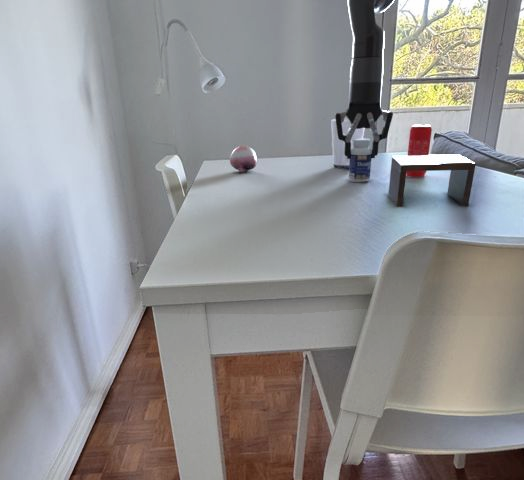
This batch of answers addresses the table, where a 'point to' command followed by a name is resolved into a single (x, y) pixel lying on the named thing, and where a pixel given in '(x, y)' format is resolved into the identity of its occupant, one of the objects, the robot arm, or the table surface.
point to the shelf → (456, 163)
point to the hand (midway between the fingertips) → (360, 157)
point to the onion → (243, 158)
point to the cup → (343, 143)
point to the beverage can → (419, 145)
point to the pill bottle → (360, 161)
